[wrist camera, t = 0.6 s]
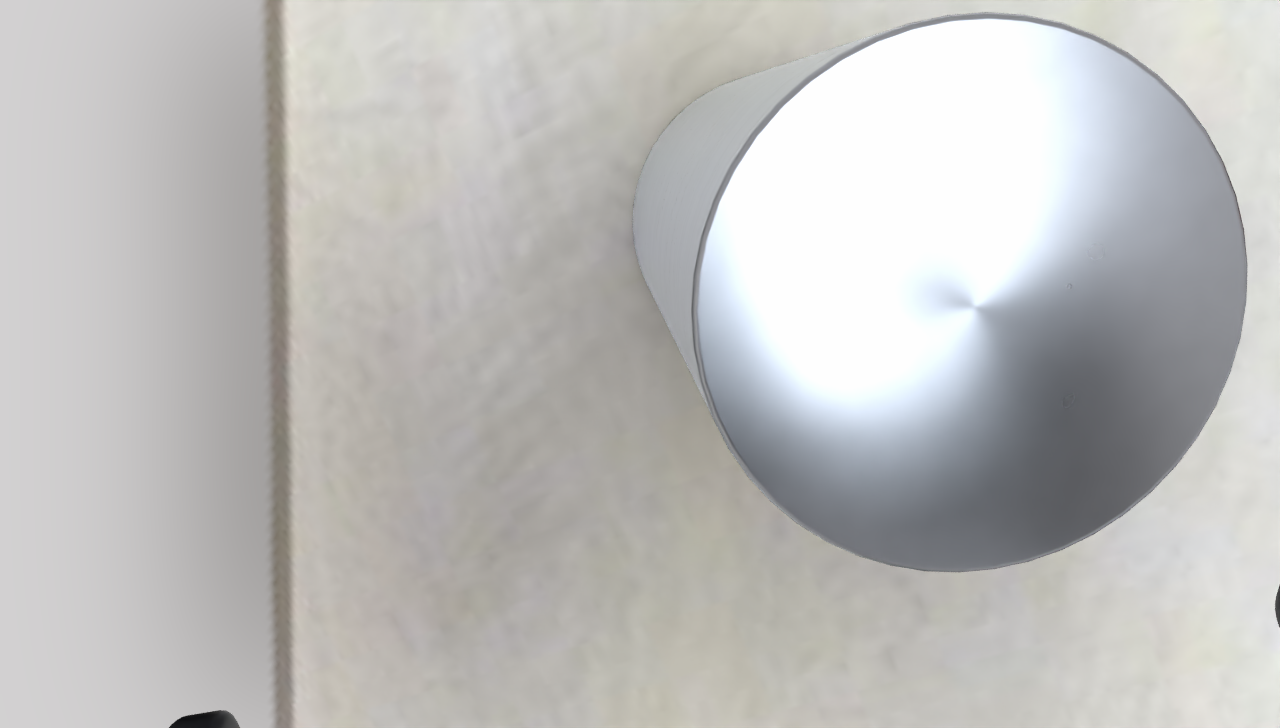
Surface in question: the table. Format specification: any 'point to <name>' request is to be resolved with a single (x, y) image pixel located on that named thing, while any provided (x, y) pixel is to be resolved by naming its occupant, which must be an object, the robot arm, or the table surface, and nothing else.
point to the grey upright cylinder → (949, 284)
